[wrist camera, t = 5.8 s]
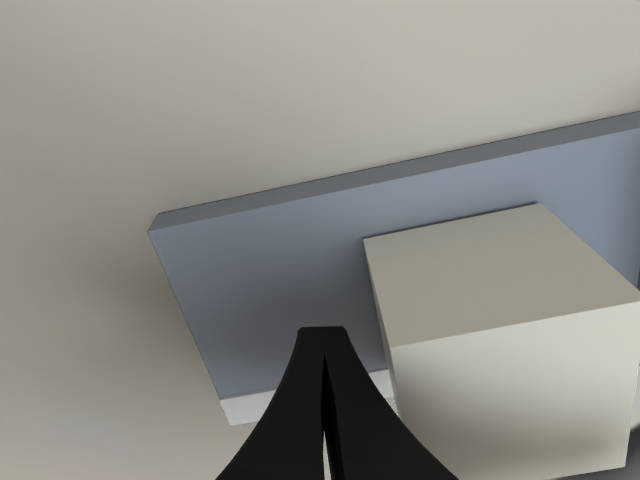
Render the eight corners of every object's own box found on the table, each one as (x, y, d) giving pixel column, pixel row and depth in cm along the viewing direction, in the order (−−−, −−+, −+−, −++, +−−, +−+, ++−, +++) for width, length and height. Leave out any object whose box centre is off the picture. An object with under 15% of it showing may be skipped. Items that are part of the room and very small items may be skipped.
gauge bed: (235, 399, 18) (230, 431, 17) (158, 213, 14) (143, 236, 13) (693, 315, 17) (726, 342, 16) (739, 89, 13) (788, 100, 12)
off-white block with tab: (397, 419, 17) (428, 556, 13) (363, 239, 13) (389, 347, 9) (561, 390, 16) (647, 522, 12) (569, 197, 13) (692, 291, 9)
